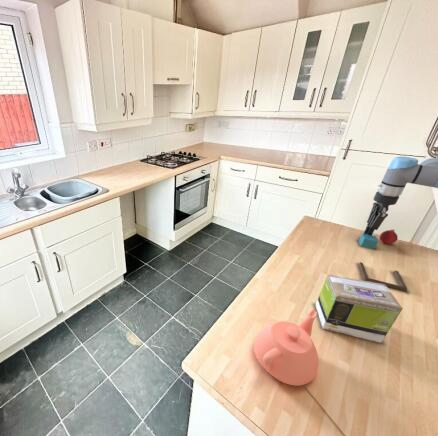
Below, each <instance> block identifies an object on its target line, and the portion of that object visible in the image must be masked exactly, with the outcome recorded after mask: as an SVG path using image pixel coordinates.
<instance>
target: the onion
mask: <svg viewBox="0 0 438 436" xmlns="http://www.w3.org/2000/svg"><path fill="white" fill-rule="evenodd" d="M395 231H396V229H394V228H392V229H388V230H383V231H382V232H381V233H380V234H379V240H380V241H381V242H382V243H383V244H385V245H389V244H394V243H396V242H397V241H398V234H397V233H396V232H395Z"/></svg>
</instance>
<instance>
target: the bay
mask: <svg viewBox="0 0 438 436" xmlns="http://www.w3.org/2000/svg"><path fill="white" fill-rule="evenodd" d="M358 267H359V270H360V273H361V276H362V279H363V281H369V282H374V283H380V284H385V285H386V286H387V288H388V289H393V290H397V291H401V292H405V293H406V292H407V291H408V287H407V285H406V283H405V282H404V279H403V277H402V276H401V274H400V272H399V270H394V271H393V275H394V277H395V279H396V281H397V283H398V284H394V283H390V282H386V281H382V280H378V279H375V278H372V277H371V278H370V277H368V276H369V275H368V274H367V270H366V268H365V266H364V263H363V262H361V261H360V262H359V263H358Z"/></svg>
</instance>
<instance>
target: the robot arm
mask: <svg viewBox="0 0 438 436" xmlns="http://www.w3.org/2000/svg"><path fill="white" fill-rule="evenodd" d="M407 184H413V185H418V186H425V187H430V188H435V189H438V157H431V158H427V159H424V160H423V161H421V162H420V163H419V159H418V158H415V157H410V156H395V157H394V158H392V159H391V161H390V164H389V165H388V167H387V169H386V171H385V173H384V175H383V177H382V180H381V182H380V184H378V185H377V187H378V189H377V191H376V192H375V194H374V197H373V201H374V202H373V204H372V208H371V210H370V212H369V216H368V218H367V220H366V226H365V229H364V231H363V233H362V234H368V235H373V234H374V233H375V231H378V230H379V229H380V227H381V225H382V223H384V221H385V220H386V218H387V217H388V216H389V213H387V212H388V211H389V210H390V209H389V206H394V205H396V204H397V203H398V201H399V199H400V196H401V195H402V194H403V192H404V190H405V188H406V186H407Z"/></svg>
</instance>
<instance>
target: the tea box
mask: <svg viewBox="0 0 438 436" xmlns="http://www.w3.org/2000/svg"><path fill="white" fill-rule="evenodd" d="M315 308H316V312H317V315H318V317H319V322H320V324H321V327H322V329H323V330H328V331H331V332H335V333H339V334H344V335H348V336H352V337H354V338H355V337H356V338H359V339H364V340H368V341H372V342H376V343H383V341H384V339H386V337H387V334H388V333H389V331H390V330H391V328H392V327H393V325H394V324H395V322H396V320H397V319H398V317H399V316H400V314H401V312H402V310H403V307H402V305H401V304H400V302H398V300H397V298H396V297H395V296H394V295H393V293H392V291H391V290H390V288H389V287H387V286H386V285H385V284H380V283H374V282H369V281H364V279H363V280H362V279H357V278H350V277H346V276H345V277H344V276H339V275H333V274H327V276H326V279H325V280H324V283H323V286H322V288H321V291H320V293H319V295H318V298H317V301H316V303H315Z"/></svg>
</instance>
